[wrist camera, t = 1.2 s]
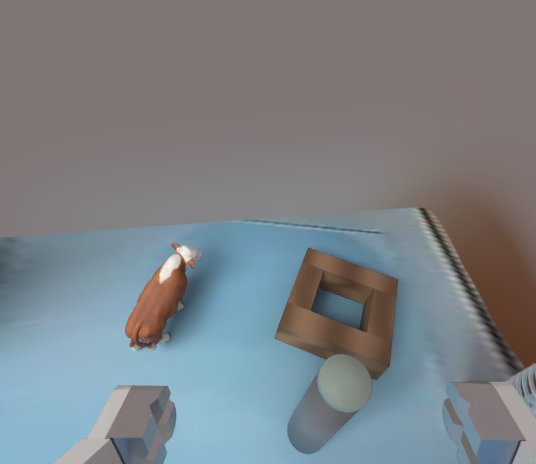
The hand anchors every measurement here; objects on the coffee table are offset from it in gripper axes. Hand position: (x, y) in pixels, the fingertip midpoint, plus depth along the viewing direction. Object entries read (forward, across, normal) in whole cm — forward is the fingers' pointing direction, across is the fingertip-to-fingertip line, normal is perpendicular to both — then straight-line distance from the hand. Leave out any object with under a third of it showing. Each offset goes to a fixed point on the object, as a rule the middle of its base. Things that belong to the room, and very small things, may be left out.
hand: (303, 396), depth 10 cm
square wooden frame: (+29, -4, +23) cm, 37 cm away
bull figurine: (+26, +17, +19) cm, 36 cm away
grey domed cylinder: (+15, 0, +26) cm, 30 cm away
